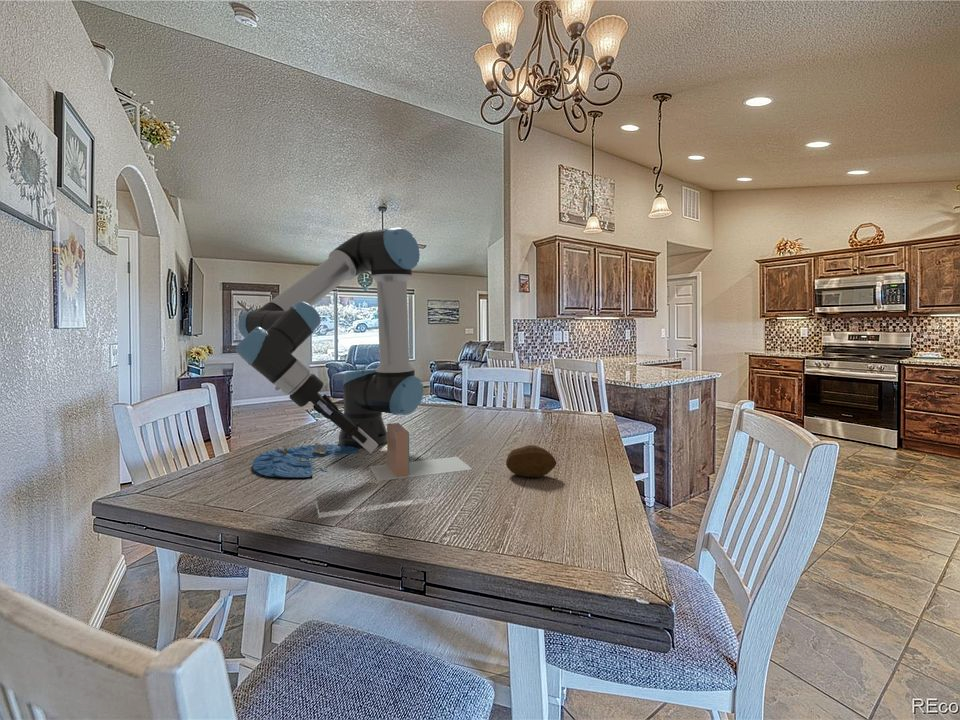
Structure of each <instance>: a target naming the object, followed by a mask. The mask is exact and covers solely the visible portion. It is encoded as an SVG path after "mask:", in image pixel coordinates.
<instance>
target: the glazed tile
mask: <svg viewBox="0 0 960 720" xmlns="http://www.w3.org/2000/svg"><path fill="white" fill-rule="evenodd" d="M386 431H387V442H386V445H387V446H386V447H387V448H386V449H387V450H386V451H387V453H386V454H387V456H386V457H387V462H386V463H387V466H388V467H389V468H390V470H391V471H392V472H393V474H394V475H395V477H402V476H408V474H409V462H410V432H409V431H408V430H407V429H406V428H405V427H403V425H401V424H400V423H399V422H397V423H395V422H394V423H393V422H392V423H386Z"/></svg>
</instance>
